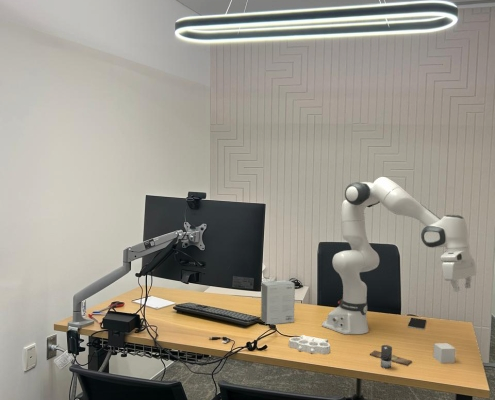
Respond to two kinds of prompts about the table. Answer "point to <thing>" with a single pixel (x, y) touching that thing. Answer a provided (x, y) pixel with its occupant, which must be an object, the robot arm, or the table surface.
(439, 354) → the white cube
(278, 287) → the hard drive box
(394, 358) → the strip
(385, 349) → the bottle with black cap
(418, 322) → the smartphone
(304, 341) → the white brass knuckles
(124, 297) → the table surface
